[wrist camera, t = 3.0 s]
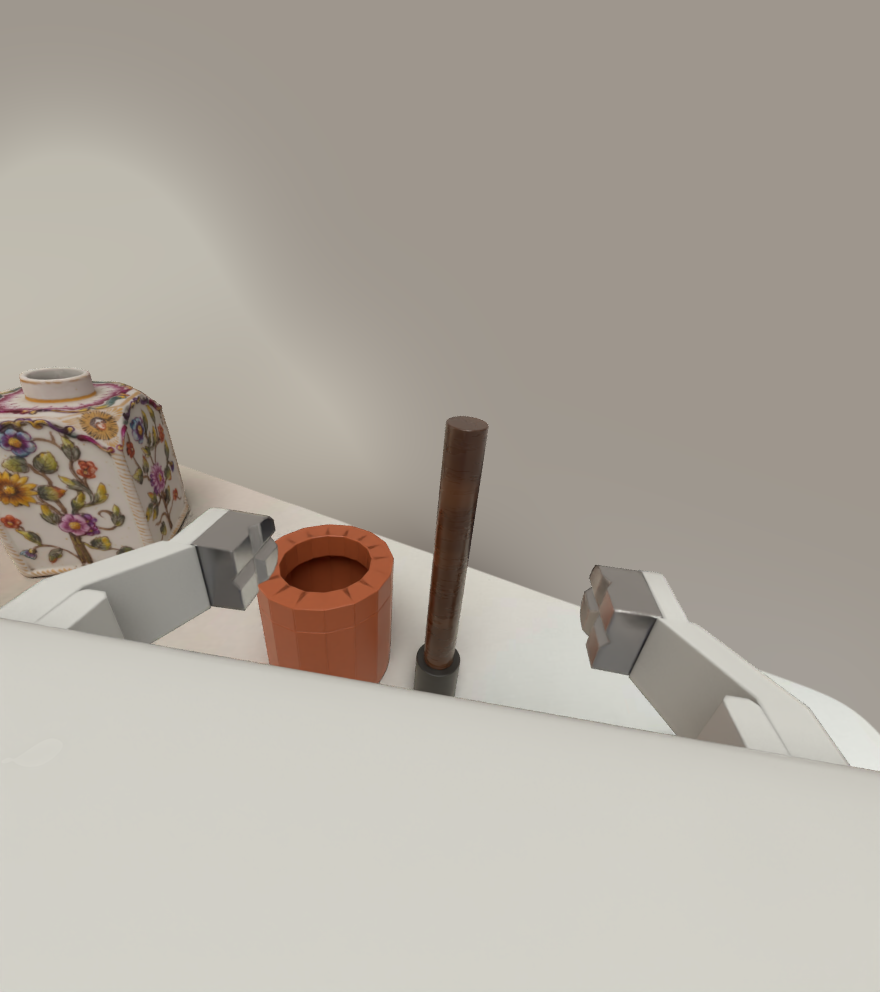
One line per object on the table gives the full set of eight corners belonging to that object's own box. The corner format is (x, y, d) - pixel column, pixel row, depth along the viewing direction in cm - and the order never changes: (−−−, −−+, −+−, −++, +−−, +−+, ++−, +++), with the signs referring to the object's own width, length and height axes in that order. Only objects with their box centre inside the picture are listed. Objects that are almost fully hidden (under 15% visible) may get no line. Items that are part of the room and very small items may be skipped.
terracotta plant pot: (311, 736, 28) (299, 635, 23) (251, 652, 34) (231, 555, 29) (412, 660, 34) (419, 567, 29) (347, 599, 40) (344, 512, 35)
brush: (434, 719, 30) (470, 438, 19) (405, 690, 32) (423, 419, 21) (462, 693, 32) (510, 426, 21) (434, 666, 34) (464, 409, 23)
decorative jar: (81, 514, 48) (15, 355, 39) (192, 509, 51) (154, 360, 42) (16, 582, 38) (-92, 390, 29) (159, 571, 41) (100, 393, 32)
